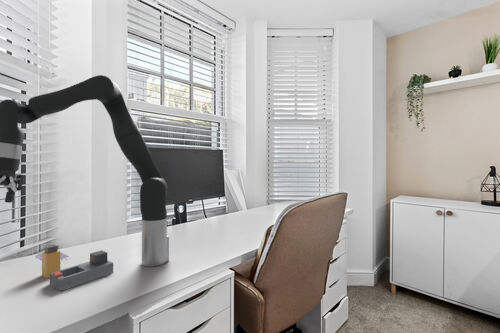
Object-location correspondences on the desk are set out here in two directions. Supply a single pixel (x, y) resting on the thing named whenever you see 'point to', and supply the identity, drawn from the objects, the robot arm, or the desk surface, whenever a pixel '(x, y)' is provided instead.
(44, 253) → the adapter plug
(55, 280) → the power strip
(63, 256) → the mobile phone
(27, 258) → the desk surface
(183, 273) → the desk surface
